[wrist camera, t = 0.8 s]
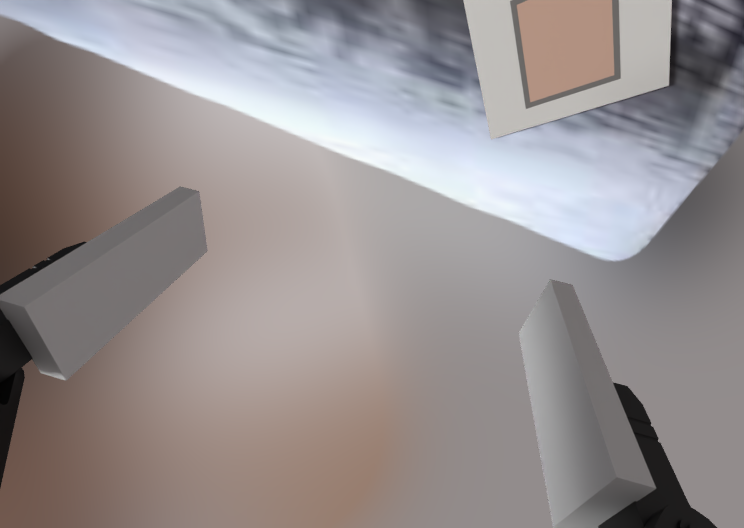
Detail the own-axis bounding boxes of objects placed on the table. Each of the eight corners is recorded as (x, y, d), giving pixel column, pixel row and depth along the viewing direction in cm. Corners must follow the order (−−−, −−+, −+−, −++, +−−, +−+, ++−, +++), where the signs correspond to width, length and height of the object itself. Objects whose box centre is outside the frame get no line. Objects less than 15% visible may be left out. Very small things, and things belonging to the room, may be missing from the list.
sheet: (449, -71, 25) (449, -73, 25) (673, -189, 21) (678, -194, 20) (490, 137, 32) (491, 139, 32) (665, 84, 28) (669, 85, 27)
